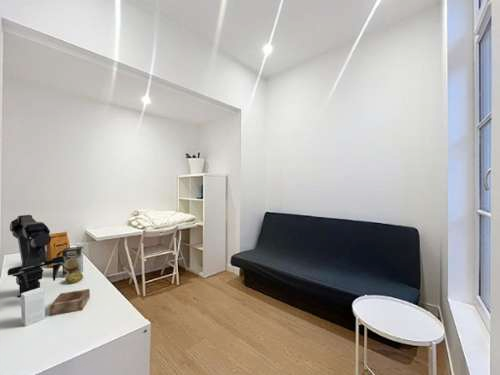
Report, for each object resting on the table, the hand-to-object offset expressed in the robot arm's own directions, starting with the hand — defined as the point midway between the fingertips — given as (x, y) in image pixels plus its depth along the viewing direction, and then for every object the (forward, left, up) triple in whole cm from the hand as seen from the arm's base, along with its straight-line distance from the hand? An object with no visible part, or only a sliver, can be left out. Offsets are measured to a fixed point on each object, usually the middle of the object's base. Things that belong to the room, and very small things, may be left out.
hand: (40, 284), depth 99 cm
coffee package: (-14, +61, -10) cm, 63 cm away
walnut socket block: (+13, -6, -10) cm, 17 cm away
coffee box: (+1, +37, -10) cm, 38 cm away
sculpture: (+5, +25, -10) cm, 27 cm away
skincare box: (+3, -13, -10) cm, 17 cm away
